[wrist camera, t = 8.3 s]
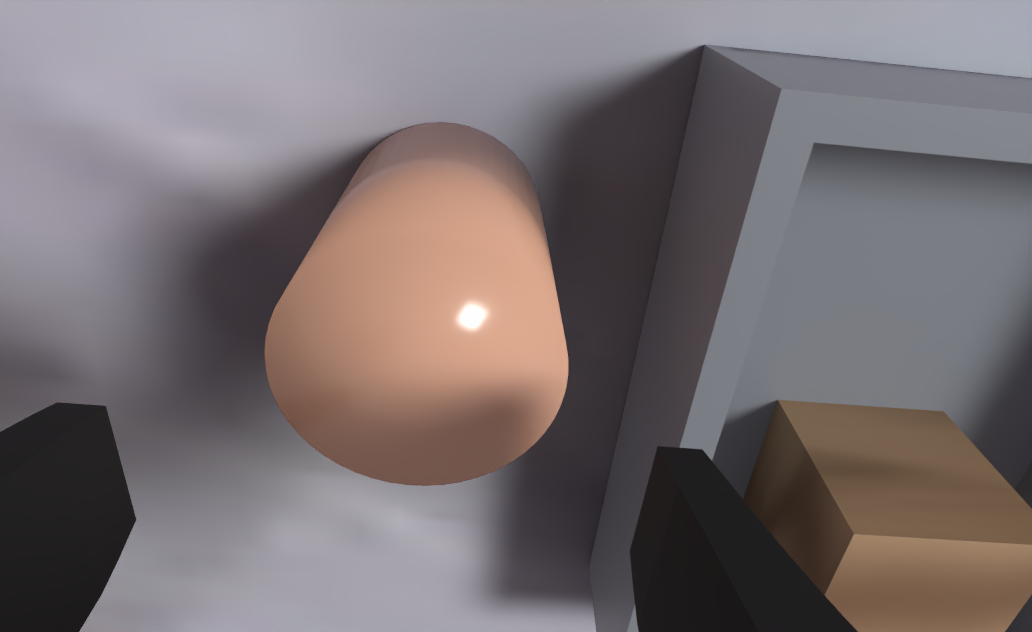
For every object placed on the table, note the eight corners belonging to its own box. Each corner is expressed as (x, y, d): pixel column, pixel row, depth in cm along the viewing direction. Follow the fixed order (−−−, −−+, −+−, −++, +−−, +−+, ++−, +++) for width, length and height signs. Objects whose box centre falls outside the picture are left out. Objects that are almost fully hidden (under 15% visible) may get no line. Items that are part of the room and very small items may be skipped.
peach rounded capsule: (537, 305, 18) (559, 484, 12) (356, 305, 18) (288, 487, 12) (545, 123, 16) (578, 234, 10) (336, 120, 16) (239, 232, 10)
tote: (953, 590, 24) (1048, 731, 20) (588, 567, 24) (605, 707, 19) (1266, 102, 16) (1554, 166, 11) (704, 44, 15) (781, 89, 11)
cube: (882, 530, 22) (972, 676, 18) (735, 521, 22) (790, 666, 17) (943, 411, 20) (1066, 546, 15) (777, 399, 19) (854, 534, 15)
